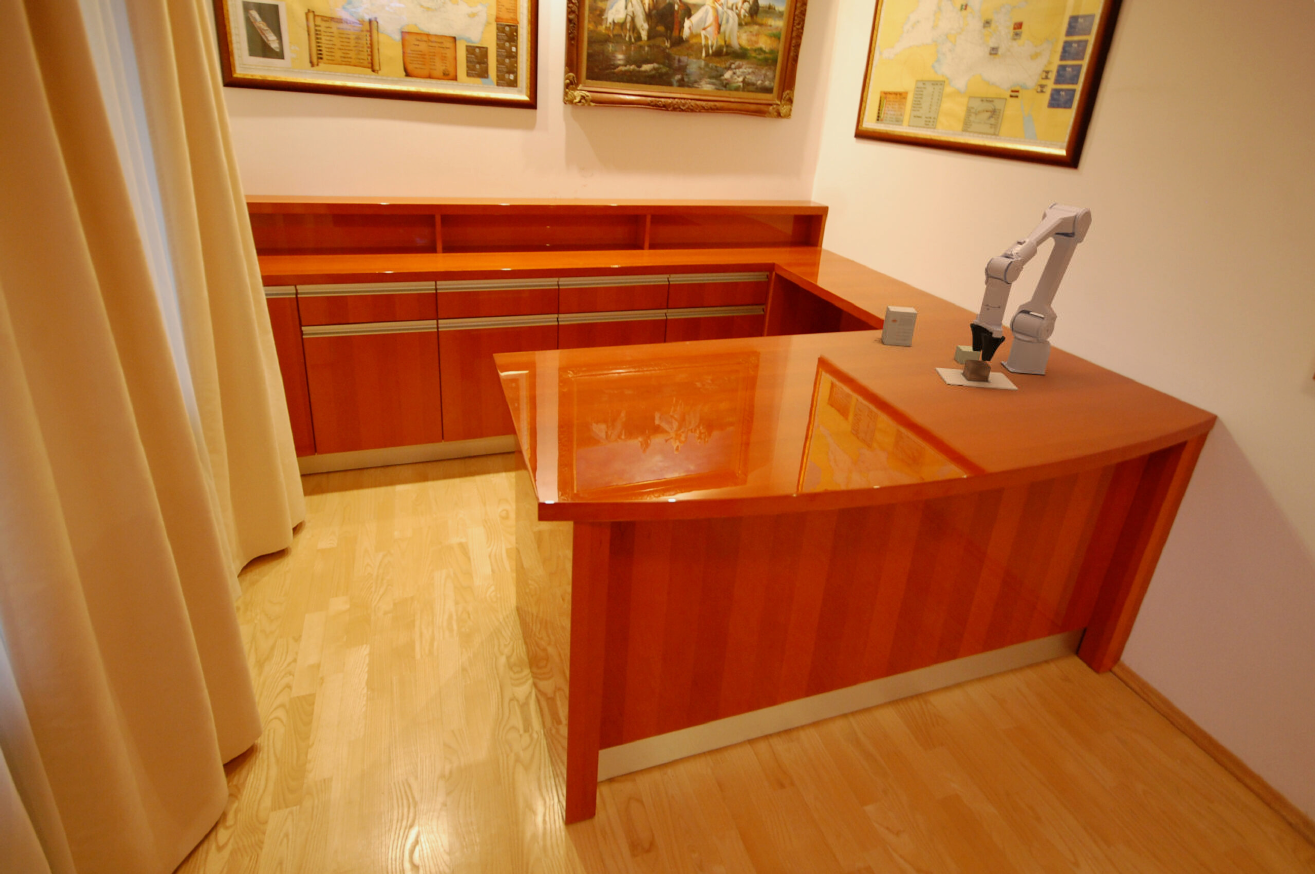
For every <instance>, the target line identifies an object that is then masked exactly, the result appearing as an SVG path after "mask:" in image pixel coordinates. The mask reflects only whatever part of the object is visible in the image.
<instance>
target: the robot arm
mask: <svg viewBox="0 0 1315 874" xmlns="http://www.w3.org/2000/svg"><path fill="white" fill-rule="evenodd" d="M1092 218H1093V217H1092V212H1091V209H1090V208H1088V207H1084V208H1083V207H1079V206H1072V205H1066V204H1061V203H1057V202H1053V203H1051V204H1050V205H1048V207H1047V208H1046V209H1045V210H1044V212H1043V214H1042V219H1041V222H1040V223H1038V225H1037V226H1036V227H1035V228H1034V229H1033V230H1032V231H1031V232H1030V233H1029V235H1028V236H1027V237H1020V238H1019V239H1017V240H1016V241H1015V242H1014V243H1013V244H1012V245H1011V246H1009V247H1008V249H1006V250H1005V251H1004V252H1003V253H1002V254H1001V255H996V256H995V257H992V258H991V259H989V261H988V262H987V264H986V266H985V268H984V276H985V280H984V283H985V284H984V285H985V290H984V294H983V298H982V302H981V306H980V311H979V313H977V314H976V316H975V319H973V320H972V323H970V324H969V326H970V330H971V335H972V338H971V339H972V342H971V343H972V345H971V346H972V350H973V351H977V352H981V354H980V358H981V359H980V360H981V361H986V362H991V361H992V359H993V358H994V356H995V354H996V351H997V350H998V349H999V347H1000V346H1001V345H1002V344H1003V343H1004V342H1005V341H1006V336H1005V335H1003V333H1004V329H1003V320H1004V316H1005V311H1006V308H1007V304H1008V302H1009V301H1008V299H1009V297H1010V292H1011V288H1012V285H1013V283H1014V282H1016V281H1017V279H1018V278H1019V277H1020V274H1021V272H1022V271H1023V269H1024V266H1026V264H1027V263H1029V262H1030V261H1031V259H1033V258H1034V257H1035V256H1036V255H1037V253H1038V247H1040V246H1041V245H1042V244H1044V243H1045V242H1046V241H1047V240H1048V239H1050V238H1052V239H1053V242H1054V245H1053V248H1052V250H1051V252H1050V255H1049V257H1048V258H1047V262H1046V264H1045V266H1044V268H1043V270H1042V274H1041V276H1040V278H1039V280H1038V283H1037V285H1036V287H1035V289H1034V292H1033V294H1032V296H1031V299H1030V300H1029V301H1027V302H1025V303H1022V304H1019V306H1018V309H1017V310H1016V311H1015V312H1014V314H1013V316H1012V317H1011V318H1010V322H1009V329H1010V331H1011V336H1013V340H1012V342H1011V347H1010V351H1009V352H1008V353H1009V354H1008V357H1007V361H1004V360H1003V361H1001V364H1002V365H1003V366H1004V367H1005V368H1006V369H1007V370H1008V371H1009V372H1010V373H1018V374H1019V373H1021V374H1033V375H1043V376H1044V375H1046V372H1045V371H1046V368H1047V365H1048V361H1049V358H1050V355H1051V351H1052V350H1051V348H1052V346H1051V342H1050V341H1049V340H1048V339H1049V338H1051V336H1052V335H1053V333H1054V330H1055V325H1056V324H1055V323H1056V321H1057V318H1058V315H1057V313H1056V312H1055V311H1054V309H1053V307H1052V304H1053V301H1054V299H1055V297H1056V294H1057V292H1058V291H1059V287H1060V285H1061V283H1062V280H1063V278H1064V276H1065V274H1066V272H1067V269H1068V266H1069V265H1070V262H1071V260H1072V258H1073V255H1074V254H1075V251H1076V249H1077V246H1078V245H1079V244H1081V243H1083V242H1084V240H1085V237H1086V235H1087V233H1088V232H1089V228H1090V227H1091V224H1092ZM1034 313H1035V314H1034ZM1041 315H1042V316H1041Z"/></svg>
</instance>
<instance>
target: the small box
mask: <svg viewBox="0 0 1315 874" xmlns="http://www.w3.org/2000/svg"><path fill="white" fill-rule="evenodd" d="M917 317H918V312H917V310H916V309H915V307H907V306H897V305H896V306H895V305H894V306H893V305H887V306H886V311H885V315H884V320H883V327H882V330H881V331H882V333H881V338H880V340H881V341H882V342H883V345H887V346H899V347H911V346H912V341H913V337H914V332H915V327H916V322H917Z"/></svg>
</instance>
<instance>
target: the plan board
mask: <svg viewBox="0 0 1315 874" xmlns="http://www.w3.org/2000/svg"><path fill="white" fill-rule="evenodd" d="M934 370H935V371H936V373H938V375H939V376H940V378H941V379H942V380H943V382H944V383H945V382H946V383H945V384H946V385H947V384H950V385H949V386H958V385H963V386H962V387H972V388H973V387H974V388H984V389H985V388H986V389H995V390H996V389H998V390H1009V391H1018V390H1019V388H1018V387H1017V386H1016V385H1015V384H1014V383H1013V382H1012V381H1011V380H1010V379H1009V378H1008V377H1007V376H1006V375H1005V374H1004V373H1003V372H994V371H993V372H992V371H990V374H989V378H988V382H987V381H974V380H968V379H967V378H966V377H965V376H964V375H963V370H964V369H956V368H943V367H942V368H941V367H935V368H934Z"/></svg>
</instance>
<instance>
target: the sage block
mask: <svg viewBox="0 0 1315 874" xmlns="http://www.w3.org/2000/svg"><path fill="white" fill-rule="evenodd" d="M954 352H955V353H954V357H953V359H954V360H956V362H957V363H959V365H965V362H966V359H967V360H980V358H981V355H982V351H981V352H977V351H973V350H972V345H961V344H960V345H956V348H955V351H954Z"/></svg>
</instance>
